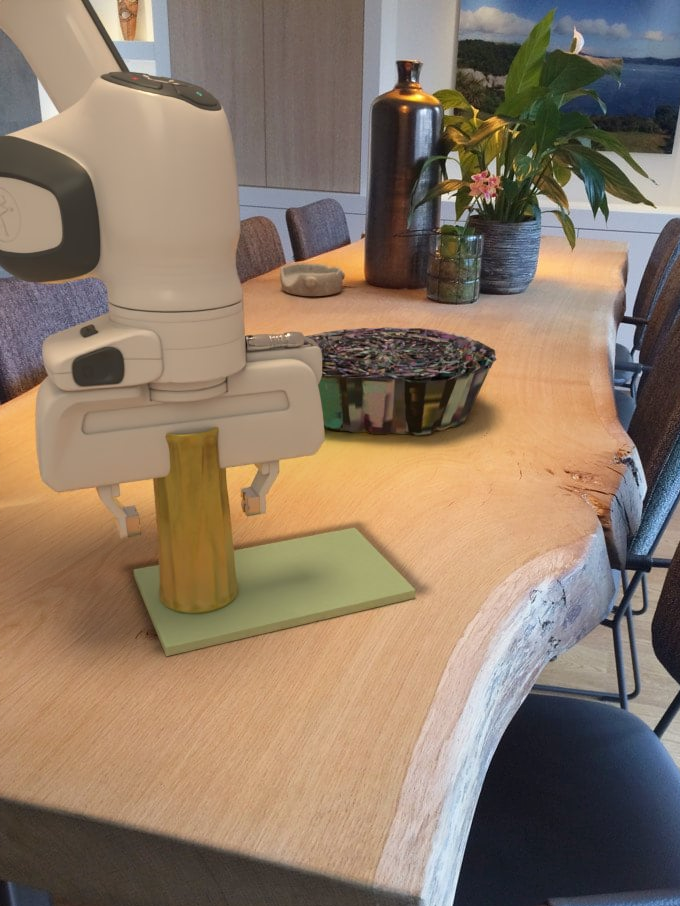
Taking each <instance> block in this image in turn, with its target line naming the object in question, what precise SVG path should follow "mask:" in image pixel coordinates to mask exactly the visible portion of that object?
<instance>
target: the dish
mask: <svg viewBox="0 0 680 906" xmlns="http://www.w3.org/2000/svg"><path fill="white" fill-rule="evenodd" d="M345 276H346V274H345V271H343V270H342V269H341V268H340V267H338V266H332V267H330V266H328V265H326V264H320V263H305V262H304V263H301V262H300V263H291V264H287V265H284V266H281V267H280V269H279V280H280V285H281V288H282V290H283V291H284V292H285V293H287V294H291V295H294V296H300V297H302V296H303V297H322V296H323V297H324V296H330V295H336V294H338V293H340V292H341V291H342V288H343V281H344V280H345Z"/></svg>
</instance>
